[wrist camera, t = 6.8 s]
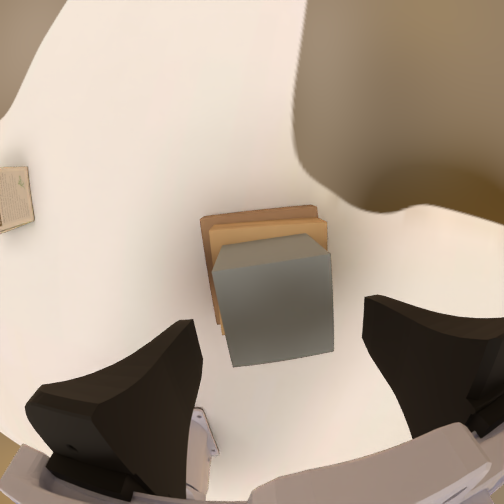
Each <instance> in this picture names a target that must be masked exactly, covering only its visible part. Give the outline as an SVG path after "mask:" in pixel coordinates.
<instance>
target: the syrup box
mask: <svg viewBox="0 0 504 504" xmlns="http://www.w3.org/2000/svg"><path fill="white" fill-rule="evenodd" d="M33 221H34V215H33V208H32V201H31V193H30V186H29V178H28V168H27V167H0V234H2V233H5V232H8V231H10V230H12V229H15V228H17V227H20V226H22V225H25V224H27V223H30V222H33Z"/></svg>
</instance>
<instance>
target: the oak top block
mask: <svg viewBox="0 0 504 504" xmlns="http://www.w3.org/2000/svg"><path fill="white" fill-rule="evenodd" d="M302 233H306V234H308V235H309V236H310V237H311V238H312V239H314V240H315V241H316V242H317V243H318V244H319V245H321V246H322V247H323V248H324V249H325V250H327V222H325V221H323V220H321V219H319V218H317V217H311V218H295V219H280V220H265V221H252V222H239V223H227V224H216V225H213V227H212V228H211V229H210V230H209V236H210V245H211V254H212V262H213V267H214V264H215V262H216V259H217V257H218V254H219V252H220V249H221V247H222V245H228V244H235V243H241V242H248V241H255V240H261V239H268V238H275V237H282V236H289V235H295V234H302ZM217 302H218V300H217ZM218 309H219V305H218ZM219 317H220V324H221V330H222V335H225V332H224V327H223V323H222V318H221V314H220V309H219Z"/></svg>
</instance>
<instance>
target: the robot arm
mask: <svg viewBox="0 0 504 504" xmlns="http://www.w3.org/2000/svg"><path fill="white" fill-rule="evenodd" d="M362 339H363V341H364V343H365V346H366V348H367V350H368V352H369V354H370V356H371V358H372V359H373V361H374V362H375V364H376V365H377V367H378V369H379V370H380V372H381V373H382V375H383V376H384V378H385V379H386V381H387V382H388V384H389V385H390V387H391V389H392V390H393V392H394V394H395V396H396V398H397V400H398V402H399V404H400V407H401V409H402V411H403V414H404V416H405V419H406V421H407V424H408V427H409V429H410V432H411V435H412V440H410V441H407V442H405V443H402V444H400V445H397V446H394V447H392V448H389V449H386V450H383V451H380V452H377V453H374V454H371V455H367V456H364V457H361V458H357V459H354V460H350V461H346V462H342V463H338V464H334V465H329V466H324V467H319V468H314V469H309V470H305V471H301V472H298V473H294V474H289V475H285V476H281V477H277V478H275V479H273V480H271V481H269V482H267V483H265V484H263V485H261V486H259V487H257V488H256V489H254V490H253V491H252V492H251V495H250V497H249V499H248V501H205V499H206V494H207V491H208V484H209V474H210V464H211V456H219V451H218V448H217V446H216V443H215V441H214V438H213V436H212V433H211V431H210V428H209V425H208V423H207V420H206V417H205V414H204V412H203V410H201V409H194V406H195V402H196V398H197V394H198V390H199V386H200V381H201V376H202V365H203V357H202V353H201V349H200V346H199V342H198V338H197V333H196V329H195V325H194V321H193V319H190V320H179V321H177V322H175V323H174V324H173V325H171V326H170V327H169V328H167V329H166V330H165V331H164V332H162V333H161V334H160V335H158V336H157V337H156V338H154V339H153V340H152V341H151V342H149V343H148V344H146V345H145V346H143V347H142V348H140V349H139V350H138V351H136V352H135V353H133V354H131V355H130V356H128V357H126V358H125V359H123V360H121V361H119V362H117V363H115V364H113V365H111V366H109V367H106V368H104V369H102V370H99V371H97V372H94V373H92V374H89V375H86V376H83V377H79V378H75V379H72V380H68V381H63V382H57V383H51V384H44V385H41V386H40V387H39V389H38V390H37V391H36V392H35V393H34V395H33V396H32V397H31V398H30V399H29V401H28V402H27V403H26V405H25V411H26V415H27V418H28V420H29V422H30V423H31V425H32V426H33V428H34V429H35V430H36V432H37V433H38V434H39V435H40V437H41V438H42V439H43V440H44V442H45V443H46V444H47V445H48V446H49V447H50V449H51V450H52V451H53V454H52V456H51V457H48V456H47V455H46V454H44V453H42V452H41V451H38V450H36V449H34V448H32V447H30V446H28V445H26V444H22V445H21V447H20V449H19V450H18V452H17V453H16V455H15V456H14V458H13V460H12V461H11V463H10V465H9V466H8V468H7V469H6V471H5V473H4V474H3V476H2V478H1V479H0V491H2V492H3V493H4V494H5V495H6V496H7V497H9V498H10V499H11V500H12V501H14V502H15V503H16V504H494V502H493V501H492V499H491V497H490V495H491V494H493V493H494V492H495V491H496V490H497V489H499V488H500V487H501V486H502V485H503V484H504V317H503V318H468V317H458V316H452V315H446V314H441V313H437V312H433V311H429V310H426V309H422V308H419V307H416V306H413V305H410V304H407V303H404V302H401V301H398V300H395V299H392V298H389V297H386V296H382V295H373V296H367V297H365V299H364V318H363V331H362ZM199 415H200V416H199Z"/></svg>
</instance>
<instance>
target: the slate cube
mask: <svg viewBox="0 0 504 504" xmlns="http://www.w3.org/2000/svg"><path fill="white" fill-rule="evenodd" d="M212 276H213V281H214V286H215V291H216V295H217V300H218V305H219V309H220V314H221V318H222V323H223V327H224V332H225V336H226V340H227V345H228V349H229V353H230V357H231V361H232V366H233V367H241V366H250V365H258V364H265V363H272V362H279V361H285V360H291V359H297V358H302V357H308V356H313V355H318V354H323V353H328V352H333V351H334V317H333V289H332V271H331V256H330V253H329V252H328V251H327V250H325V249H324V248H323V247H322V246H321V245H319V244H318V243H317V242H316V241H315V240H314V239H312V238H311V237H310V236H309V235H308V234H306V233H302V234H295V235H289V236H282V237H275V238H268V239H261V240H255V241H248V242H241V243H235V244H228V245H222V247H221V249H220V252H219V254H218V257H217V259H216V262H215V264H214V267H213V270H212Z"/></svg>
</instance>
